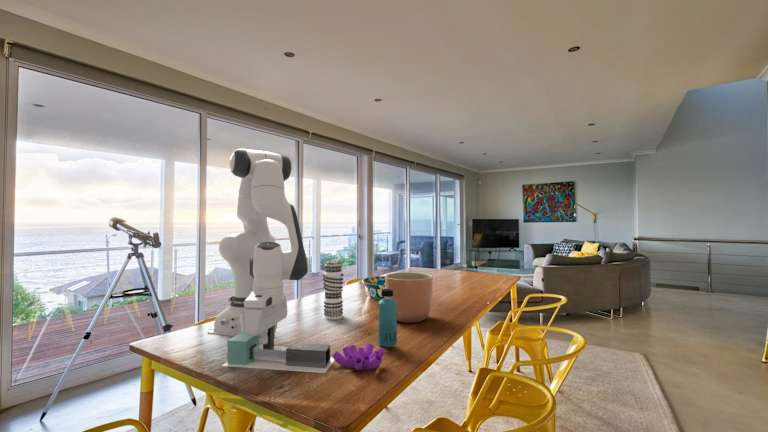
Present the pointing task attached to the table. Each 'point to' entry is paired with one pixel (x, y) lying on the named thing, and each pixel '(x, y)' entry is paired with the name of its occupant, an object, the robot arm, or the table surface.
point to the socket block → (241, 348)
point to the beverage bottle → (387, 319)
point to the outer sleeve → (308, 355)
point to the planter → (411, 295)
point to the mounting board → (280, 365)
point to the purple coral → (359, 357)
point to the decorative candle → (333, 290)
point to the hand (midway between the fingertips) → (268, 341)
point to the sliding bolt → (268, 349)
